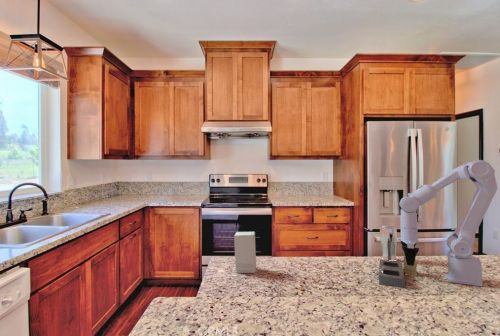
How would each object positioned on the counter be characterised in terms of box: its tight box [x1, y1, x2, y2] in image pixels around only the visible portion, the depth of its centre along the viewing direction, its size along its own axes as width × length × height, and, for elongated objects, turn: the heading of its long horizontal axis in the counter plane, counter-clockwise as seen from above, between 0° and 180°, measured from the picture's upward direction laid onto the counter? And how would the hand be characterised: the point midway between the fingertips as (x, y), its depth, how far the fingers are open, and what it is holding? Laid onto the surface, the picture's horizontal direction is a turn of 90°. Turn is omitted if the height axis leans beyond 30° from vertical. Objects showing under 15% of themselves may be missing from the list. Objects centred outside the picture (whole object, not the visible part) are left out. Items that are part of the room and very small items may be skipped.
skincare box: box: [233, 231, 257, 274], centre depth 111 cm, size 8×7×16 cm
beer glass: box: [379, 225, 398, 260], centre depth 122 cm, size 7×7×15 cm
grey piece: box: [378, 258, 406, 289], centre depth 103 cm, size 8×20×3 cm, turn 153°
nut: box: [403, 255, 418, 277], centre depth 105 cm, size 4×4×6 cm
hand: (409, 262), depth 105 cm, fingers open, 7 cm apart
